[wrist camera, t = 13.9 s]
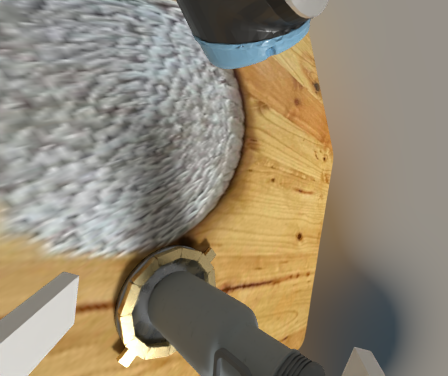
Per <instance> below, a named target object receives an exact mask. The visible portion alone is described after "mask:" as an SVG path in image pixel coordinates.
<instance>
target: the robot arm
mask: <svg viewBox="0 0 448 376" xmlns="http://www.w3.org/2000/svg"><path fill="white" fill-rule="evenodd" d="M176 1H177V3H178V5H179V7H180V9H181V11H182V13H183V15H184V17H185V19H186V21H187V23H188V25H189V27H190V29H191V31H192V34H193V36H194V38H195V40H196V41H197V42H198V43H199V44H200V46H201V47H202V49H203V51H204V53H205V54H206V56H207V58H208V59H209V61H210V62H211V63H212V64H213V65H215V66H217V67H219V68H223V69H235V68H241V67H245V66H249V65H252V64H256V63H258V62H261V61H264V60H266V59H267V58H268V57H269V56H271V55H276V54H279V53H281V52H283V51H285V50H287V49H289V48H290V47H292V46H293V45H295V44H296V43H298V42H299V41H300V40H301V39H302V38H303V37H304V36H305V35H306V34H307V32H308V30H309V27H310V20H311V18H314V17H316V16H318V15H319V14H321V12H322V11H323V10H324V8H325V7H326V5H327V3H328V1H329V0H176ZM78 281H79V275H75V274H71V273H67V272H62V273H61V274H60V275H58V276H57V277H56V278H54V279H53V280H52V281H51V282H49V283H48V284H47V285H45V286H44V287H43V288H41V289H40V290H39V291H38V292H36V293H35V294H34V295H32V296H31V297H30V298H28V299H27V300H26V301H25V302H23V303H22V304H21V305H19V306H18V307H17V308H15V309H14V310H13V311H11V312H10V313H9V314H8V315H6V316H5V317H4V318H2V319H1V320H0V376H28V375H29V374H30V373H31V372H32V370H33V369H34V368H35V367H36V366H37V365H38V364H39V363H40V361H41V360H42V359H43V358H44V357H45V356H46V355H47V354H48V352H49V351H50V350H51V349H52V348H53V347H54V346H55V345H56V343H57V342H58V341H59V340H60V339H61V338H62V337H63V336H64V334H65V333H66V332H67V331H68V330H69V329H70V328H71V327H72V325H73V324H74V319H75V310H76V300H77V291H78ZM342 376H385V374H384V373H383V371H382V369H381V368H380V366H379V364H378V362H377V361H376V359H375V357H374V356H373V354H372V352H371V351H368V350H364V349H360V348H356V347H354V349H353V351H352V354H351V356H350V358H349V360H348V363H347V365H346V367H345V370H344V372H343V374H342Z"/></svg>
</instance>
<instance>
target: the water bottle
mask: <svg viewBox="0 0 448 376" xmlns="http://www.w3.org/2000/svg"><path fill="white" fill-rule="evenodd" d="M148 316H149V320H150V322H151V323H152V325H153V326H154V327H155V328H156V329H157V330H158V331H159V332H160V333H161V334H162V335H163V337H164V338H165V339H166V340H167V341H168V342H169V343H170V344H171V345H172V346H173V347H174V348H175V349H176V350H177V351H178V352H179V353H180V354H181V355H182V356H183V358H184V359H185V360H186V361H187V362H188V363H189V364H190V365H191V366H192V367H193V368H194V369H195V370H196V371H197V372H198V373H199V374H200V375H201V376H325V372H324V369H323V368H322V366H321V365H319V364H318V363H316V362H312V361H311V360H310V359H308V358H306V357H305V356H303V355H301V354H300V352H299V351H298V350H296V349H290V348H288V347H287V346H285V345H284V344H282V343H280V342H279V341H277V340H276V339H274V338H273V337H271V336H269V335H268V334H266V333H265V332H263V331H262V330H260V329H259V328H258V323H257V319H256V316H255V314H254V313H253V311H252V310H251V309H250V308H249V307H247V306H246V305H245V304H243V303H241V302H240V301H238V300H236V299H235V298H233V297H231V296H229V295H228V294H226V293H224V292H222V291H221V290H219V289H217V288H216V287H214V286H212V285H210V284H209V283H207V282H205V281H203V280H202V279H200V278H198V277H197V276H195V275H193V274H191V273H189V272H187V271H177V272H174V273H171V274H169V275H167V276H166V277H165V278H163V279H162V280H161V281H160V282H159V283H158V284H157V286H156V287H155V289H154V290H153V292H152V294H151V296H150V300H149V304H148Z"/></svg>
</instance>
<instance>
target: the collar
mask: <svg viewBox="0 0 448 376" xmlns="http://www.w3.org/2000/svg"><path fill="white" fill-rule="evenodd" d="M215 256H216V254H215V253H214V251H213V250H212V248H210V247H209V248H208V249H207V250H206V251H205V252H204V254H203V253H202V252H200V251H198V250H195V249H193V248H191V247H188V246H184V245H172V246H167V247H164V248H161V249H159V250H157V251H155V252H153V253H152V254H150V255H149V256H147V257H146V258H145V259H143V260H142V261H141V262H140V263H139V264H138V265H137V266H136V267H135V268H134V270H133V271H132V272H131V273H130V275H129V276H128V278H127V279H126V281H125V283H124V285H123V286H122V289H121V291H120V293H119V296H118V299H117V303H116V308H115V325H116V329H117V332H118V334H119V337H120V338H121V341H122V342H123V344H124V345H125V346H126V348H125V349H124V350H123V351H122V352H121V354H120V355H119V356H118V357H117V358H116V359H117V360H118V362H120V363H121V364H123V365H124V366H126V367H128V365H129V364H130V363H131V362H132V360H133V359H134V358H135V357H136V355H138V356H139V357H141V358H142V359H152V358H160V357H167V356H168V354H169V356H170V355H171V354H172V353H174V352H175V351H177V350H176V349H175V348H174V347H173V346H172V345H171V344H170V343H169V342H168V341H167V340H166V339H165V338H164V337H163V335H162V334H161V333H160V332H159V331H158V330H157V329H156V328H155V327H154V326H153V325H152V323H151V322H150V320H149V316H148V304H149V300H150V296H151V294H152V292H153V290H154V289H155V287H156V286H157V284H158V283H159V282H160V281H161V280H162V279H163V278H165V277H166V276H167V275H169V274H171V273H174V272H177V271H187V272H189V273H191V274H193V275H195V276H197V277H198V278H200V279H202V280H203V281H205V282H207V283H209V284H210V285H212V286H214V287H216V284H215V271H214V269H213V268H214V267H213V266H212V265H211V263H210V262H211V261H212V260H213V258H214V257H215Z"/></svg>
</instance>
